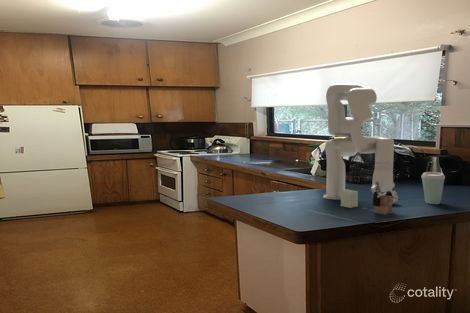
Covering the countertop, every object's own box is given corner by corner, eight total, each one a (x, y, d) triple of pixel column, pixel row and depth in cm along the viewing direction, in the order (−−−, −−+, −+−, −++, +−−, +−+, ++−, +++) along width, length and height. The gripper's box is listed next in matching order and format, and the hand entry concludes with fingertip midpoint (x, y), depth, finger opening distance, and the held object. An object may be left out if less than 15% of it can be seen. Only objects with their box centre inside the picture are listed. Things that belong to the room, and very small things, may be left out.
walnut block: (380, 209, 179) (380, 194, 179) (391, 211, 175) (392, 196, 174) (373, 211, 176) (373, 195, 175) (384, 213, 172) (385, 197, 171)
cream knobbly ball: (386, 211, 195) (382, 193, 201) (404, 207, 191) (399, 188, 196) (380, 205, 189) (376, 186, 195) (398, 200, 185) (393, 182, 190)
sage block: (347, 203, 193) (348, 189, 192) (357, 205, 189) (357, 191, 188) (340, 205, 189) (341, 191, 189) (350, 207, 185) (350, 192, 184)
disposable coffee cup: (445, 205, 190) (447, 175, 189) (421, 204, 194) (422, 174, 192) (442, 201, 200) (443, 172, 199) (418, 200, 204) (420, 171, 202)
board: (351, 203, 196) (351, 201, 196) (397, 212, 178) (397, 210, 177) (333, 208, 187) (333, 205, 187) (380, 217, 169) (380, 215, 169)
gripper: (386, 163, 182) (385, 200, 184) (365, 166, 171) (363, 205, 173) (402, 165, 176) (400, 203, 178) (380, 168, 165) (379, 208, 167)
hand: (382, 204), depth 175 cm, fingers open, 9 cm apart
